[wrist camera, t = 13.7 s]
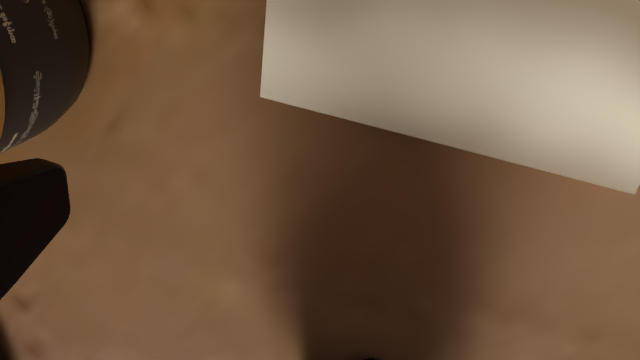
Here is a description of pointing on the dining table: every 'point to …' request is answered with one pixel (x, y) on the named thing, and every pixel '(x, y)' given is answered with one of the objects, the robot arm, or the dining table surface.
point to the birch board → (472, 76)
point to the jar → (39, 65)
